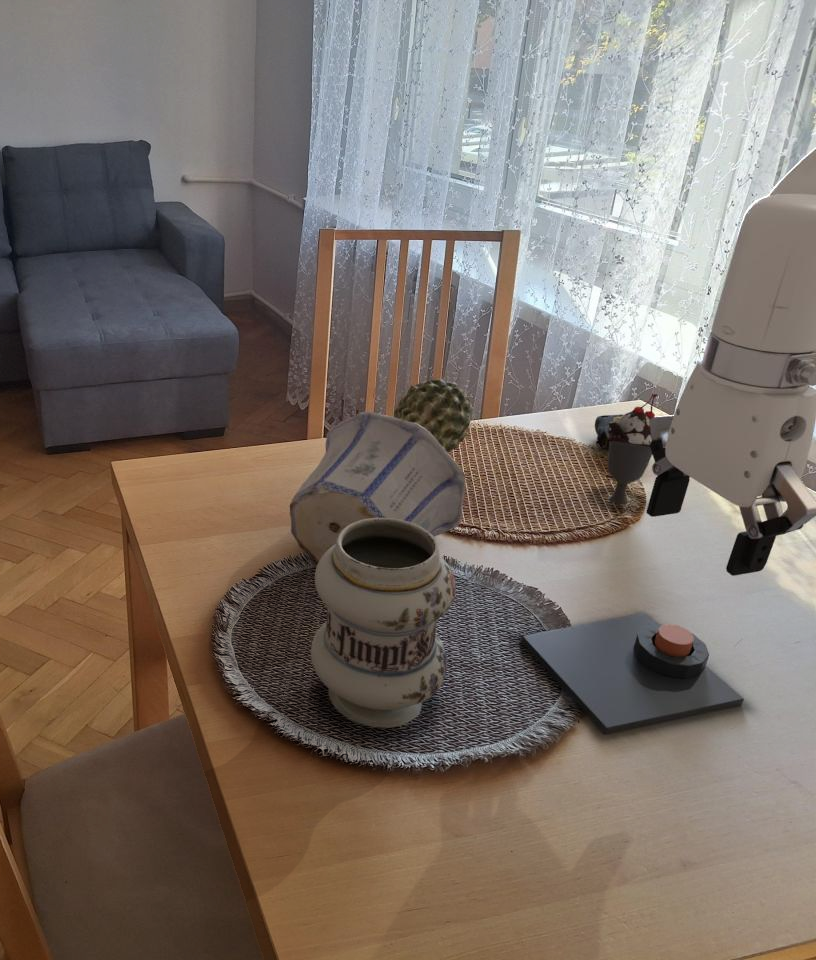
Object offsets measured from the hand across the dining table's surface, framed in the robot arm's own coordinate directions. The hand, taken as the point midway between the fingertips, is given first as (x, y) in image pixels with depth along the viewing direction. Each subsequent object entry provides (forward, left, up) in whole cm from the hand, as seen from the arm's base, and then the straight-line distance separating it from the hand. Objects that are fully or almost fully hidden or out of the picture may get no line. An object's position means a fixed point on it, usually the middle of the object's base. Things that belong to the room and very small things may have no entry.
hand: (701, 541), depth 76 cm
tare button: (0, 0, -12) cm, 12 cm away
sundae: (-6, -31, -15) cm, 35 cm away
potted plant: (+23, -23, -15) cm, 36 cm away
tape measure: (-11, -48, -15) cm, 52 cm away
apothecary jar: (+28, +7, -15) cm, 33 cm away
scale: (+4, +2, -15) cm, 15 cm away
